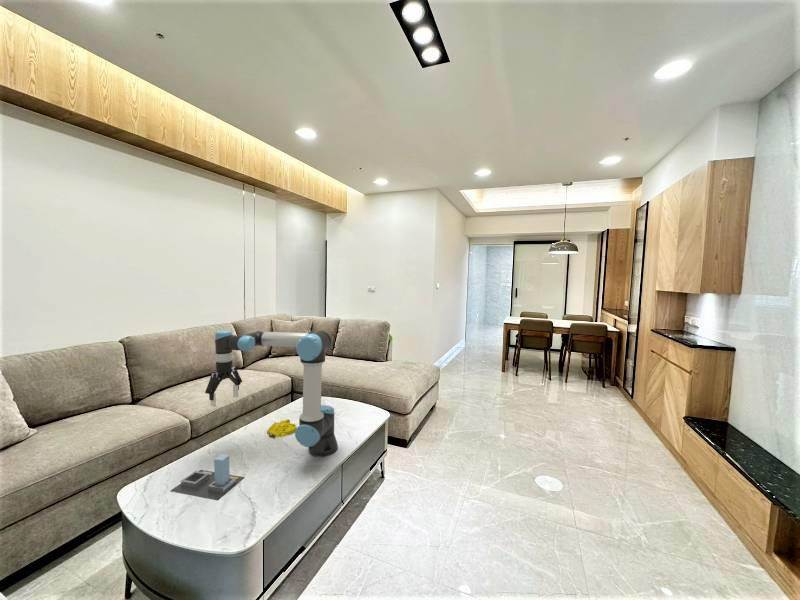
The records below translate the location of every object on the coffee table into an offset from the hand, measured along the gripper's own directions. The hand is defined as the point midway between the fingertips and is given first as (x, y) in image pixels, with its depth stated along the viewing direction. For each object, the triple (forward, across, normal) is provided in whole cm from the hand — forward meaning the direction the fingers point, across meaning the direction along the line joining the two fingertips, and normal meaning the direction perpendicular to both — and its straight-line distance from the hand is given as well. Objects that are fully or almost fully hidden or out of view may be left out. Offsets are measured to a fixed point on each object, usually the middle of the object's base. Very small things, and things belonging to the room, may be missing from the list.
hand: (225, 401), depth 169 cm
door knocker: (+28, -31, +10) cm, 43 cm away
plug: (+26, +23, +24) cm, 42 cm away
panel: (+27, +24, +17) cm, 40 cm away
